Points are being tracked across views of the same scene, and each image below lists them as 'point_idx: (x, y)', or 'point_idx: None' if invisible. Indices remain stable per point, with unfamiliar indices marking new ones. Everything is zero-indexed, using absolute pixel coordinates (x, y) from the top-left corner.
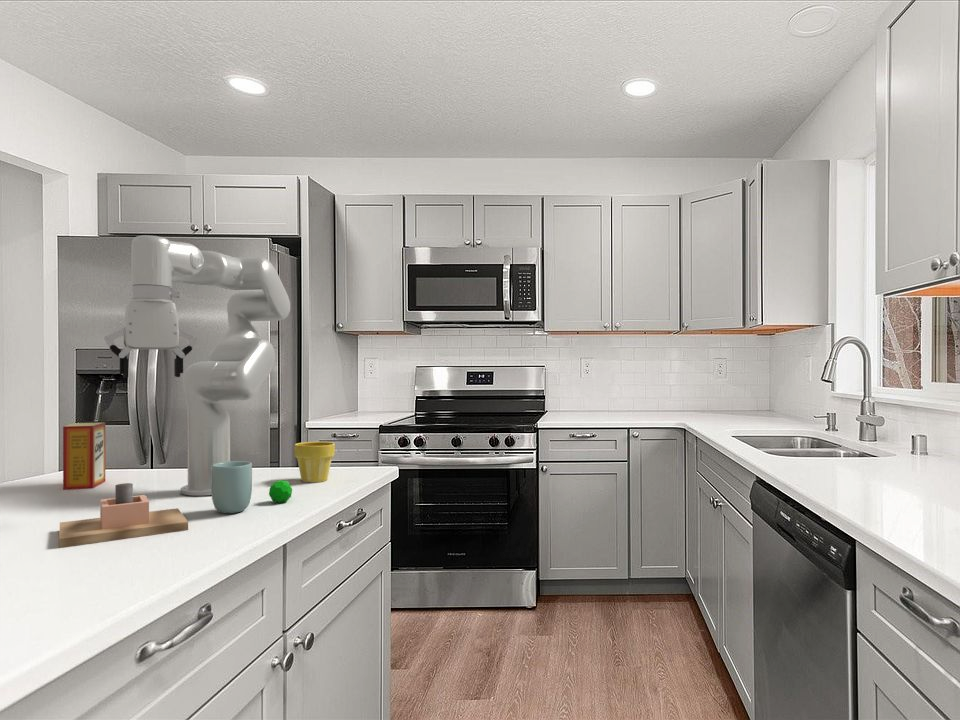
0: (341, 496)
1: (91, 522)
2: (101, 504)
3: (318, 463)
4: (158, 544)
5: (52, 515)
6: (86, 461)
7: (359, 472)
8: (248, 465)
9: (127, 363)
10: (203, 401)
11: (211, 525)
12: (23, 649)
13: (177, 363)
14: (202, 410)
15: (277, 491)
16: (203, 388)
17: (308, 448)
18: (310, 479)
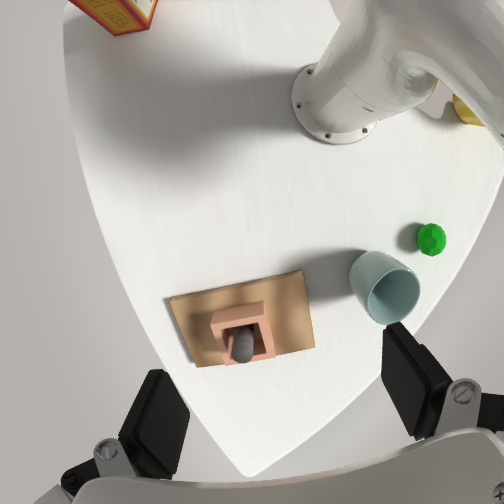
0: (476, 232)
1: (206, 315)
2: (219, 348)
3: None
4: (286, 379)
5: (134, 205)
6: (124, 12)
7: None
8: (412, 309)
9: (175, 458)
10: (413, 76)
11: (337, 330)
12: (244, 471)
13: (407, 419)
14: (398, 93)
15: (427, 254)
16: (442, 76)
17: None
18: (464, 120)
